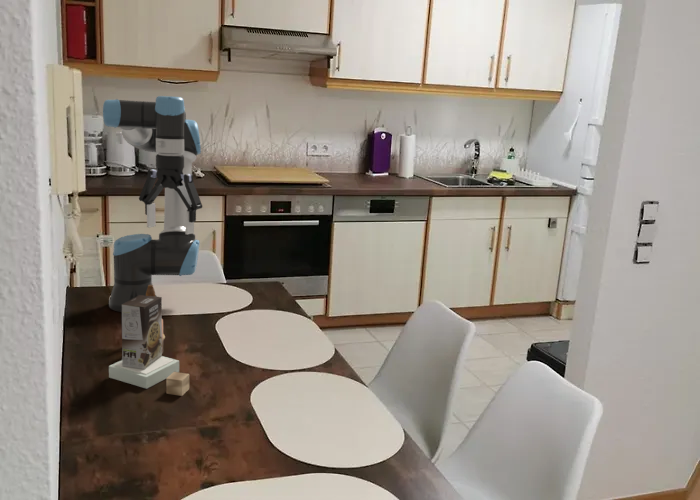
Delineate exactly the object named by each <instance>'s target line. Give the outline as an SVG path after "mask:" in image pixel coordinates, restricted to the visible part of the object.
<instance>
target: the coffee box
mask: <svg viewBox="0 0 700 500" xmlns="http://www.w3.org/2000/svg"><path fill="white" fill-rule="evenodd" d="M156 296H157V295H156ZM156 296H144V295H139V296H137V297H135V298H133V299H131V300H129V301H127V302H125V303H124V304H122V312H121V346H122V348H121V351H122V352H121V353H122V354H121V356H122V357H121V360H122V366H127V367H133V368H139V369H146V368H147V367H148V366H149V365H151V364H152V363H153V362H155V361H156V360H158V359H159V358H160V357H162V356H163V355H162V354H163V353H162V319H163V318H162V312H163V311H162V309H163V308H162V299H163V298H162V296H157V297H156Z"/></svg>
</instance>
